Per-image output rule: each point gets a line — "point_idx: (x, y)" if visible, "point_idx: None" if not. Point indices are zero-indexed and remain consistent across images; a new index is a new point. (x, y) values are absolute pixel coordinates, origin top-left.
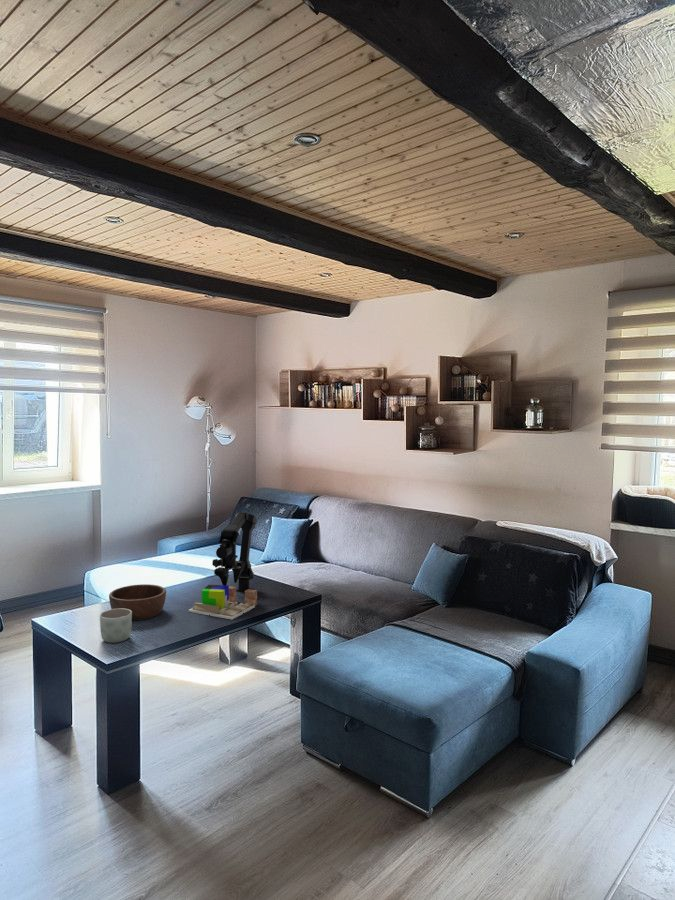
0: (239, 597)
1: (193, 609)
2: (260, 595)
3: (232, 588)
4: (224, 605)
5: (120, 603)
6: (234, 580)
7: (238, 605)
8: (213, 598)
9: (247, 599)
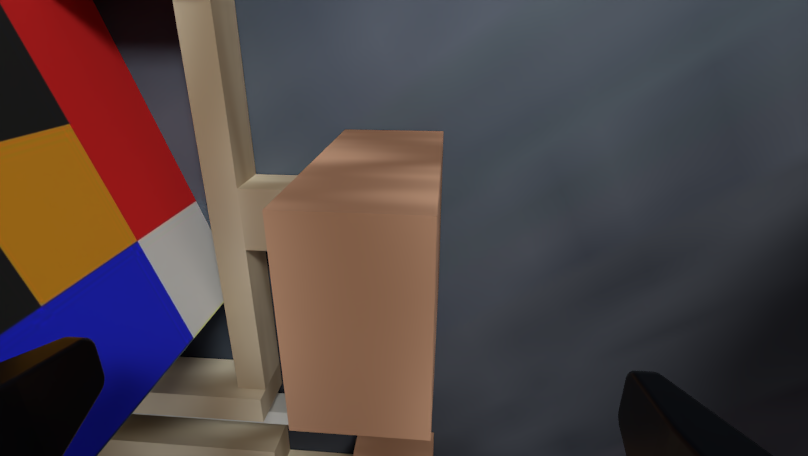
0: (626, 233)
1: None
2: (797, 434)
3: (313, 417)
4: None
5: None
6: (650, 429)
7: (207, 450)
8: None
9: None
